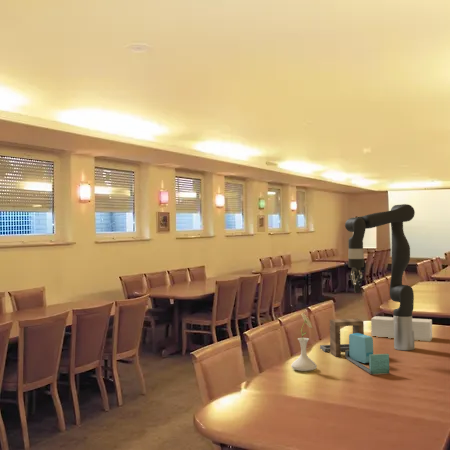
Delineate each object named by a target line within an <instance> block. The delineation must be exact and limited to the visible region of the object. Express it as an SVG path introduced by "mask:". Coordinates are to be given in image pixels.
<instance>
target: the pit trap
mask: <svg viewBox="0 0 450 450" xmlns="http://www.w3.org/2000/svg"><path fill="white" fill-rule="evenodd" d="M340 346H341V352H345V350H349V343H342V344H341V343H340ZM319 349H320V350H321V349H322V350H321V351H323V352H325V353H330V344H322V345H321V344H320V345H319Z"/></svg>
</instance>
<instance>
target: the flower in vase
mask: <svg viewBox="0 0 450 450" xmlns="http://www.w3.org/2000/svg"><path fill="white" fill-rule="evenodd" d="M300 315H301V318H302V319H303V321H304V322H303V324H302V326H301V329H300V332H301V337H298V338H297V340H298V342H299V346H300V355H299V356H298V358H297V359H294V361H293V362H292V363H291V364H290V366H291V368H292V369H293V370H295V371H299V372H310V371H314V370H316V369H317V367H318V366H317V364H316V363H315V361H313V360H312V358H310V357H308V354H307V344H308V342H309V340H310V338H308V337H304V335H306V334H307V332H306V331H305V332H304V333H303V327H304V325H305V324H306V326H307V327H309V328H310V329H312V328H313V323H312V322H311V320H310V318H309V317H308V316H307V315H306V313H304V312H302V313H301V314H300Z"/></svg>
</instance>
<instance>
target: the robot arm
mask: <svg viewBox="0 0 450 450" xmlns="http://www.w3.org/2000/svg"><path fill="white" fill-rule="evenodd" d="M415 213H416V212H415V209H414V207H413V206H412V205H410V204H408V203H404V204H394V205H393V206H392V207H391V208H390V210H386V211H378V212H374V213H369V214H365V215H362V216H356V217H351V218H350V217H349V218H348V219H347V220H346V221H345V223H344V224H345V225H344V227H345V229H346V230H347V231H348V232H349V233H352V236H350V237H349V238H348V250H347V251H348V253H347V254H348V255H347V259H348V265H347V266H348V268H350V269H351V271H350V272H349V278H350V281H351V284H352V285H353V291H354V293H355V294H357V293H360V286H361V285H362V283H363V281H364V274H363V273H362V268H364V267H365V259H364V258H365V256H364V255H365V254H364V253H365V252H364V238H365V234H366V229H373V228H377V227H382V226H384V225H388V224H390V230H391V273H390V274H391V275H390V283H389V297H390V299H391V300H392V302H396V303H399V307H398V308H395V309H393V318H394V339H393V348H394V349H395V350H398V351H413V350H415V348H416V347H415V340H414V331H413V330H412V318H413V311H414V302H415V300H414V299H415V298H414V297H415V295H414V294H415V293H414V290H413V287H412V286H411V285H407V284H403V276H404V273H405V271H406V268H407V267H408V265H409V263H410V260H411V245H410V243H409V241H408V239H407V237H406V235H405V231H404V223H407V222H410V221H412V219H413V218H415Z"/></svg>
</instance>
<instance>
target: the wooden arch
mask: <svg viewBox="0 0 450 450" xmlns="http://www.w3.org/2000/svg"><path fill="white" fill-rule="evenodd" d="M348 326H349V327H350V326H351V327H352V334H353V333H360V334H364V335H365V333H364V330H365V329H364V327H365V325H364V320H362V319H360V318H342V319H341V318H337V319H333V318H332V319H329V345H330V352H329V353H330V355H332V356H333V357H336V358H341V357H342V355H341V354H342V351H341V346H340V344H341V327H348Z"/></svg>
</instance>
